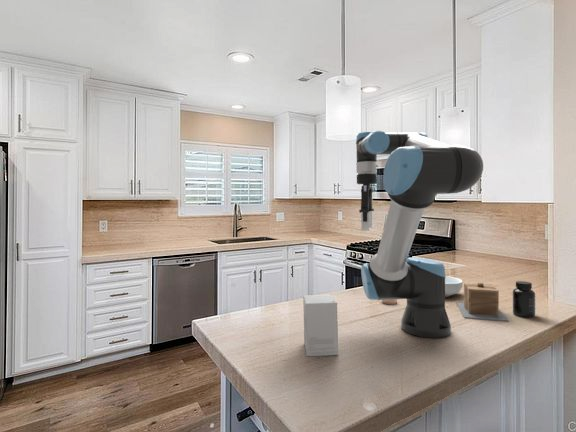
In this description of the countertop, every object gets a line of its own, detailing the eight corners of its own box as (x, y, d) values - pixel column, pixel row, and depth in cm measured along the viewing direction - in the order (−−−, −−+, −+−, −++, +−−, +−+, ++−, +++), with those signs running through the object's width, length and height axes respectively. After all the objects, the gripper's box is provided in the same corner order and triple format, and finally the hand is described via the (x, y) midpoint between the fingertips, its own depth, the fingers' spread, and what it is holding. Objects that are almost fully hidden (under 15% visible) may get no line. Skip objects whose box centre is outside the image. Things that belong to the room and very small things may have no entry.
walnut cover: (498, 315, 122) (498, 287, 122) (468, 313, 125) (468, 285, 125) (491, 307, 132) (491, 281, 131) (463, 305, 135) (464, 280, 134)
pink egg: (397, 304, 139) (397, 297, 138) (381, 303, 140) (381, 296, 140) (397, 300, 144) (397, 293, 144) (382, 299, 146) (382, 292, 146)
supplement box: (333, 342, 103) (332, 293, 103) (338, 355, 94) (338, 302, 94) (303, 343, 103) (302, 294, 102) (306, 356, 94) (305, 303, 93)
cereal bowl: (451, 302, 141) (451, 285, 141) (414, 294, 154) (414, 278, 153) (469, 294, 152) (469, 278, 151) (433, 287, 165) (433, 273, 164)
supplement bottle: (530, 312, 126) (531, 280, 126) (538, 318, 120) (539, 285, 119) (509, 311, 128) (509, 279, 128) (516, 317, 122) (516, 284, 121)
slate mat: (509, 321, 118) (509, 320, 118) (464, 317, 122) (464, 316, 122) (495, 306, 135) (495, 305, 135) (456, 303, 139) (456, 302, 139)
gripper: (374, 170, 117) (374, 232, 118) (378, 175, 141) (379, 226, 142) (352, 171, 120) (352, 231, 121) (360, 176, 143) (360, 226, 144)
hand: (367, 229), depth 131 cm, fingers open, 13 cm apart
